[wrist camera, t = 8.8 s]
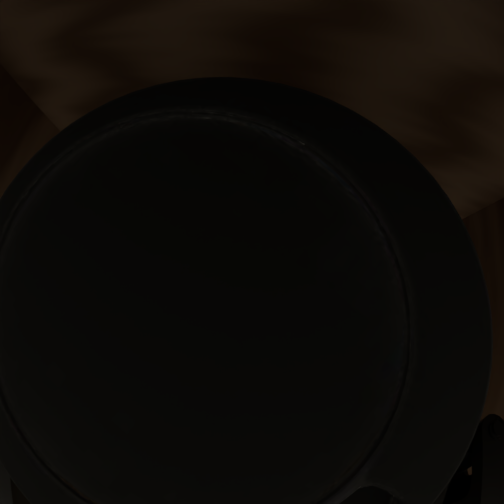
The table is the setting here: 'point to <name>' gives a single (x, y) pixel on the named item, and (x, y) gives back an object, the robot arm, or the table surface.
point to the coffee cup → (235, 307)
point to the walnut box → (289, 73)
